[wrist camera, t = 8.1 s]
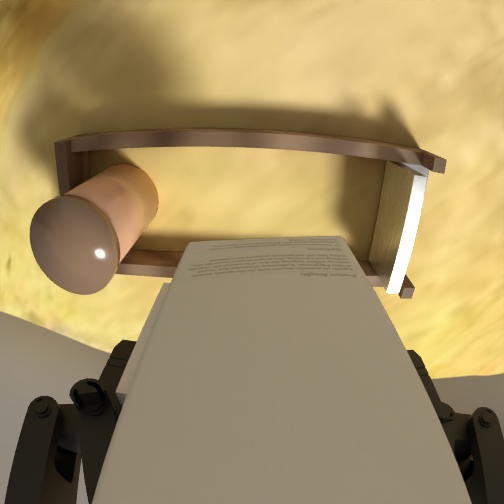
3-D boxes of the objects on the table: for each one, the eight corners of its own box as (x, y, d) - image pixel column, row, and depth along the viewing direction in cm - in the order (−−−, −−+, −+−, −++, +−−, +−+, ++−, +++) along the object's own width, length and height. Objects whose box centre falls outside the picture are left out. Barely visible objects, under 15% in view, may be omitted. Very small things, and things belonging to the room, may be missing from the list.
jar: (98, 232, 31) (43, 289, 21) (89, 163, 28) (21, 200, 18) (162, 234, 31) (122, 299, 21) (158, 161, 28) (106, 198, 18)
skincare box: (201, 331, 19) (148, 596, 5) (184, 231, 16) (43, 577, 2) (339, 328, 19) (391, 592, 5) (351, 226, 16) (497, 569, 2)
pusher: (367, 259, 31) (386, 292, 26) (385, 158, 27) (414, 175, 21) (406, 260, 31) (429, 293, 26) (427, 165, 27) (460, 183, 21)
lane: (92, 257, 32) (71, 280, 28) (76, 135, 26) (48, 144, 22) (394, 272, 32) (411, 298, 28) (420, 148, 26) (446, 159, 22)
